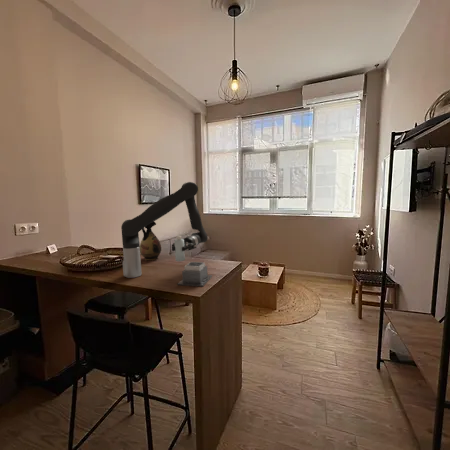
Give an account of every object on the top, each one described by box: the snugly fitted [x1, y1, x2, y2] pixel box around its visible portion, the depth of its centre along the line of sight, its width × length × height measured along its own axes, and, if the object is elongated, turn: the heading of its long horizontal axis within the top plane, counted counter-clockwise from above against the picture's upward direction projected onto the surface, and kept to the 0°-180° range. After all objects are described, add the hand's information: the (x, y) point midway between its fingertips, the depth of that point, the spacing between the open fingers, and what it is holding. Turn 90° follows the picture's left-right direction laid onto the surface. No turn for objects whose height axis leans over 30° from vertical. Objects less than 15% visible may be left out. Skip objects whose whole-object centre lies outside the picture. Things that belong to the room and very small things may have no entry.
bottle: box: [174, 235, 186, 262], centre depth 132 cm, size 5×5×13 cm
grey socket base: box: [177, 261, 213, 288], centre depth 136 cm, size 14×16×9 cm
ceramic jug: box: [139, 221, 162, 261], centre depth 183 cm, size 17×15×30 cm
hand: (177, 249), depth 130 cm, fingers closed on bottle, 5 cm apart
